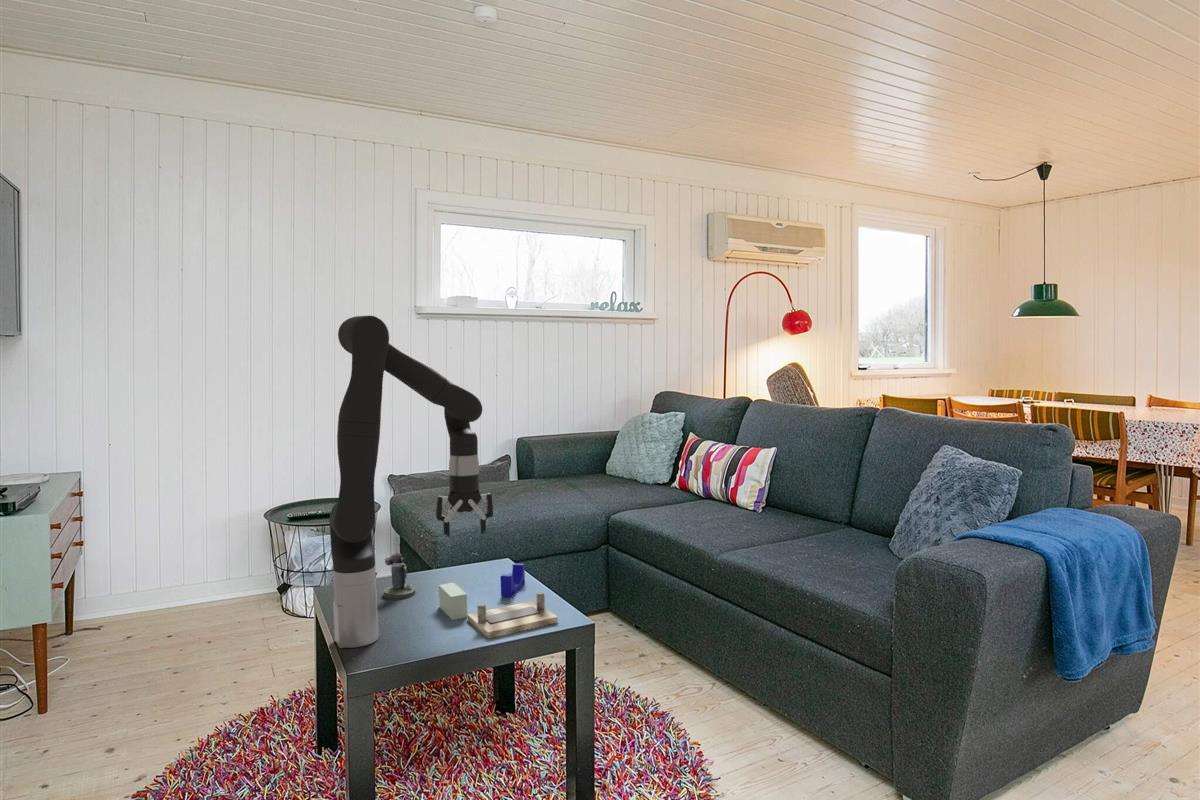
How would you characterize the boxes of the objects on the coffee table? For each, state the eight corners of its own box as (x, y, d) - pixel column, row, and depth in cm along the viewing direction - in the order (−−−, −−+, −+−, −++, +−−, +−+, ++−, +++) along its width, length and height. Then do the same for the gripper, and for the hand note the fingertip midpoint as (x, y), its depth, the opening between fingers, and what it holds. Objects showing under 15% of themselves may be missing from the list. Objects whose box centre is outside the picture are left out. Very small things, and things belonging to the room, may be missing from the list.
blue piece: (509, 583, 208) (509, 563, 208) (524, 584, 207) (524, 563, 207) (495, 597, 196) (495, 575, 196) (511, 598, 195) (511, 576, 195)
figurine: (396, 601, 194) (394, 557, 194) (377, 595, 199) (375, 553, 199) (421, 592, 201) (420, 550, 200) (402, 587, 206) (400, 546, 205)
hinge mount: (488, 638, 167) (487, 615, 166) (467, 620, 179) (466, 598, 178) (557, 622, 176) (557, 600, 175) (533, 606, 188) (533, 585, 187)
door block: (467, 617, 181) (466, 593, 181) (452, 620, 179) (451, 596, 179) (454, 604, 191) (453, 582, 191) (439, 607, 189) (438, 585, 189)
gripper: (436, 475, 178) (437, 540, 179) (494, 473, 183) (494, 536, 183) (434, 471, 186) (435, 533, 186) (489, 468, 190) (490, 529, 191)
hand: (464, 534), depth 185 cm, fingers open, 8 cm apart
